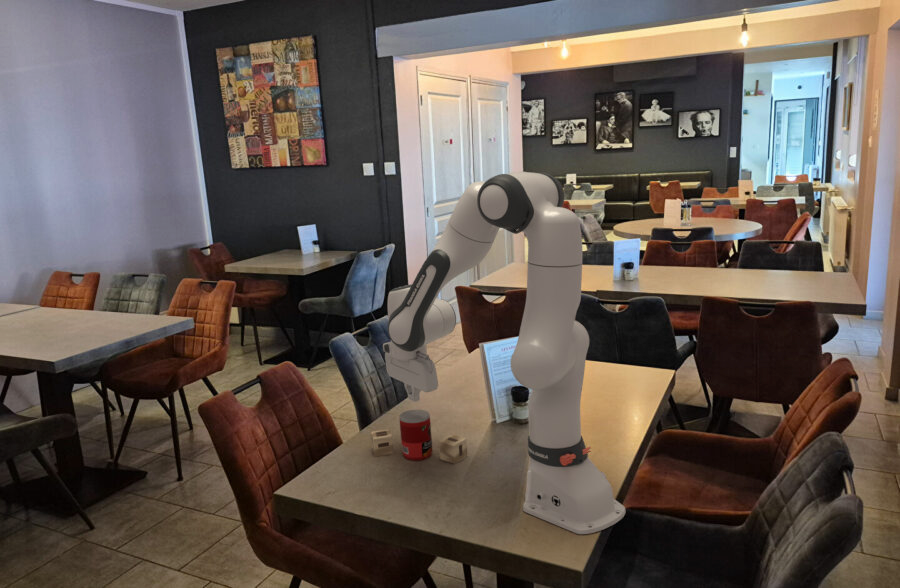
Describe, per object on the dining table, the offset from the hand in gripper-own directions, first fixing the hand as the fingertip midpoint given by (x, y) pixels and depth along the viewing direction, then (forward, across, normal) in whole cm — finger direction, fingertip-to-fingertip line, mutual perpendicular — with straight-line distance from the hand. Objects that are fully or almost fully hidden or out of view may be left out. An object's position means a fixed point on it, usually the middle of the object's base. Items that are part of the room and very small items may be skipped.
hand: (413, 400), depth 167 cm
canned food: (+15, 0, 0) cm, 15 cm away
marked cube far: (+15, +8, +6) cm, 18 cm away
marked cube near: (+15, -8, -6) cm, 18 cm away
